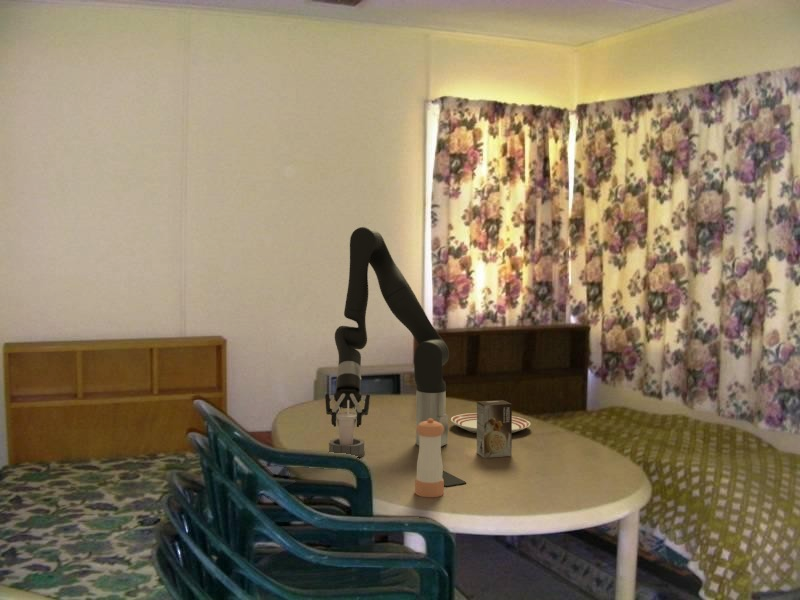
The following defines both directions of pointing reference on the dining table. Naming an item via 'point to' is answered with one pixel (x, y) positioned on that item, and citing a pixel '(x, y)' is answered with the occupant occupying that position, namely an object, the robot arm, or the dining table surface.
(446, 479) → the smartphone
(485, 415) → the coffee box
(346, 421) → the smoothie
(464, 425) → the dinner plate
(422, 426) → the salt shaker
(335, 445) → the grey short hollow cylinder
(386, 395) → the dining table surface
